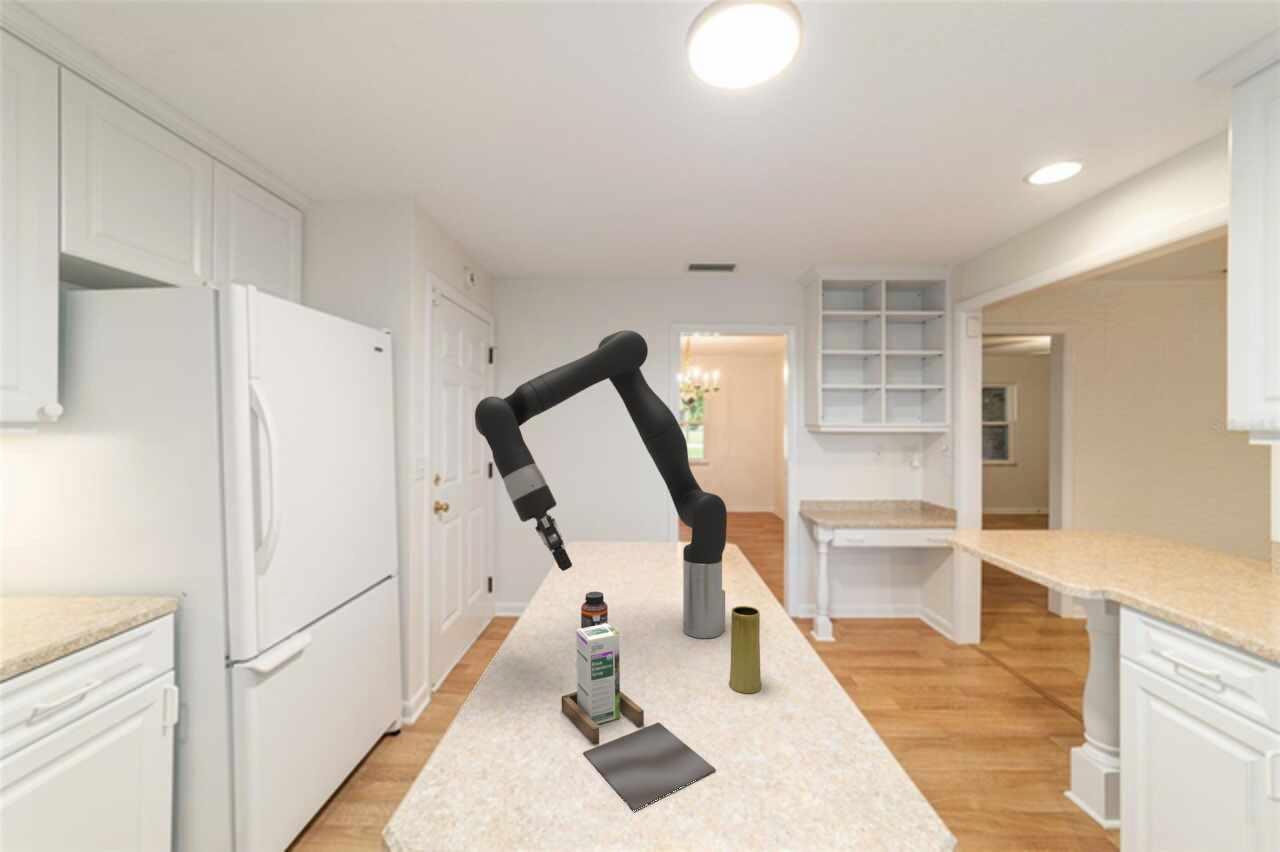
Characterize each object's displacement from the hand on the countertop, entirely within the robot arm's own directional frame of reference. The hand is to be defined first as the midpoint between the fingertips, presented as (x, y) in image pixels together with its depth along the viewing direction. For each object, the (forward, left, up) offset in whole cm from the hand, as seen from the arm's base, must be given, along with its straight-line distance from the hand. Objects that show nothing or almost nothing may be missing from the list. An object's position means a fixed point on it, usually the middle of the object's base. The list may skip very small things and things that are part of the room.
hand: (566, 567), depth 100 cm
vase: (-28, +20, -22) cm, 41 cm away
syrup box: (0, +13, -22) cm, 26 cm away
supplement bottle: (-13, -12, -22) cm, 28 cm away
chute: (0, +22, -22) cm, 31 cm away
